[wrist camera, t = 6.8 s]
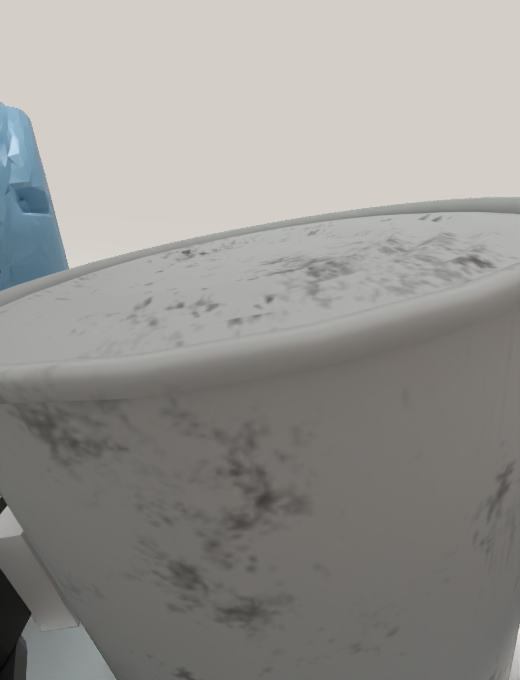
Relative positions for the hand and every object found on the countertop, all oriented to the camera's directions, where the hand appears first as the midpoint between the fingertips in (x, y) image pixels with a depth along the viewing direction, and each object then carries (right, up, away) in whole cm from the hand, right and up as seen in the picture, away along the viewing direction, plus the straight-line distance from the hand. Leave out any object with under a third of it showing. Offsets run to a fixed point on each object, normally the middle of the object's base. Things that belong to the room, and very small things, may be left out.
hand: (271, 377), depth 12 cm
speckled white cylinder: (+2, -8, -1) cm, 9 cm away
